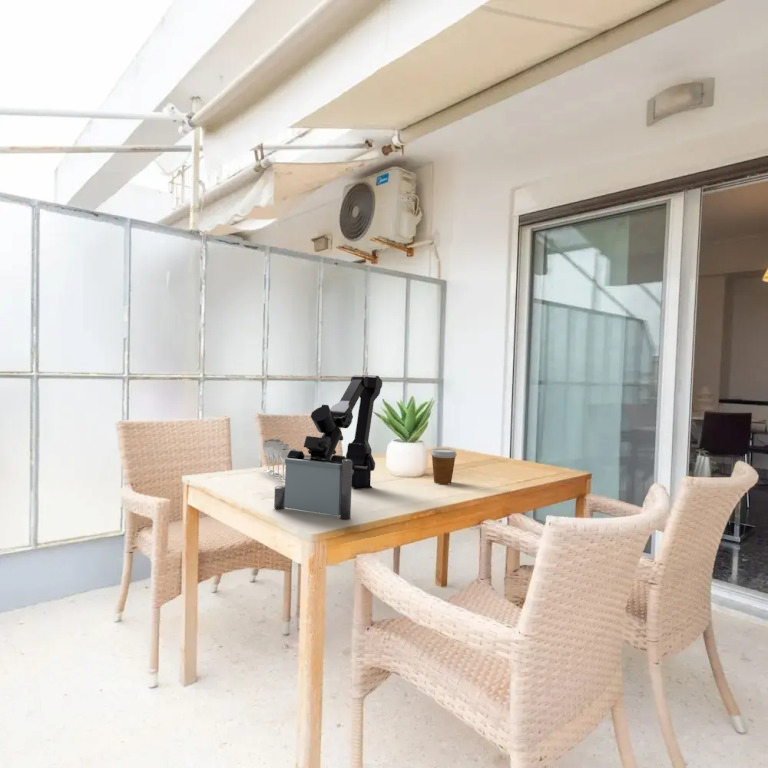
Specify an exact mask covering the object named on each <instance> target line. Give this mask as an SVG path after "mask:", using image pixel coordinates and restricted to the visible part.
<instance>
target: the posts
mask: <svg viewBox="0 0 768 768" xmlns="http://www.w3.org/2000/svg"><path fill="white" fill-rule="evenodd" d="M351 485H352V460H350V459H344V460H342V477H341V510H340V516H339V517H340V518H339V519H340V520H343V521H345V520H347V521H348V520H351V514H352V513H351V510H352V507H351V506H352V487H351ZM273 503H274V505H273V507H274V508H275V509H274V510H284V509H286V508H285V486H282V485H281V486H280V485H279V486H278V485H277V486H275V487H274V502H273Z"/></svg>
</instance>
